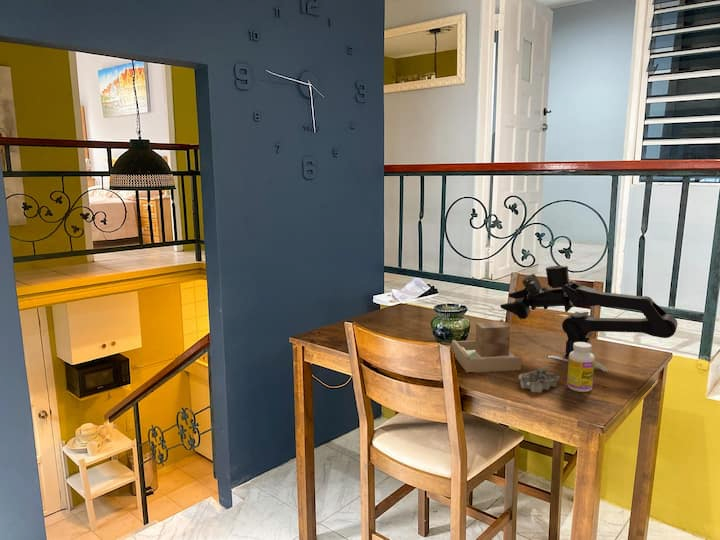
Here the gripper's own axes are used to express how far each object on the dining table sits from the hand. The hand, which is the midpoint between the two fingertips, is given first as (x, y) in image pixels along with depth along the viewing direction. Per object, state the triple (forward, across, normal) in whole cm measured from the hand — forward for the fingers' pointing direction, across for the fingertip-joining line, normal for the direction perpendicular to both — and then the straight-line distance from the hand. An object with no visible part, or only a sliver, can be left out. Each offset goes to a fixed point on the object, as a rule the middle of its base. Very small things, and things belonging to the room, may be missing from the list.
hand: (504, 300), depth 190 cm
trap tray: (+2, +23, +11) cm, 25 cm away
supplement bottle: (-28, +31, +15) cm, 44 cm away
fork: (-23, +11, +19) cm, 32 cm away
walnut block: (0, +21, +9) cm, 23 cm away
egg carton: (-18, +34, +13) cm, 41 cm away
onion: (+5, +1, +15) cm, 16 cm away
